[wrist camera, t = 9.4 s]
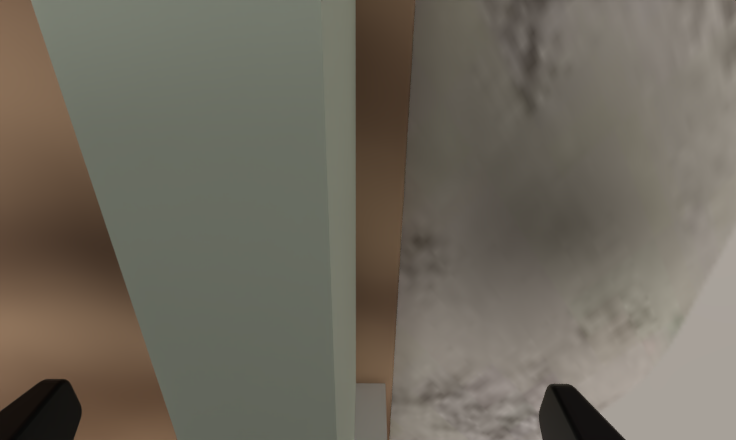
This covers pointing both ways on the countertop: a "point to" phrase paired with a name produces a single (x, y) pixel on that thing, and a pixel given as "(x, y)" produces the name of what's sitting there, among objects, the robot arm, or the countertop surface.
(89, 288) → the cabinet floor
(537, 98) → the countertop surface
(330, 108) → the door
